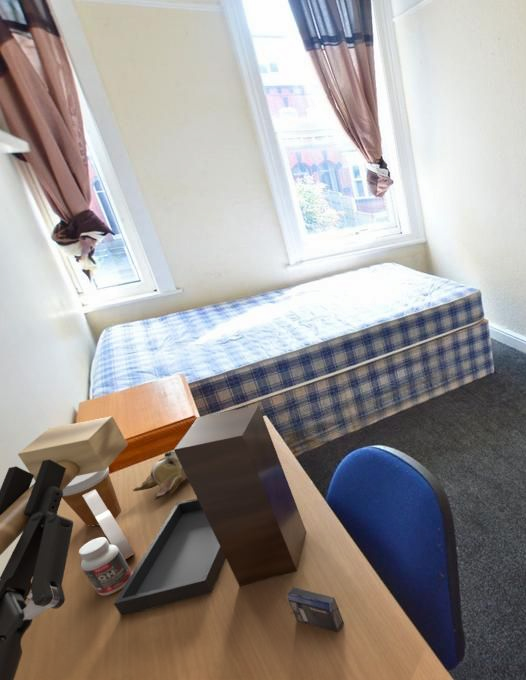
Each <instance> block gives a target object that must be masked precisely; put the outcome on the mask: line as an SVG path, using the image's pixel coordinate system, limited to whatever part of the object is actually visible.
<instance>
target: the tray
mask: <svg viewBox="0 0 526 680" xmlns="http://www.w3.org/2000/svg"><path fill="white" fill-rule="evenodd" d="M226 560H227V559H226V557H225V555H224V553H223V551H222V549H221V547H220V545H219V543H218V541H217V539H216V536H215V534H214V532H213V530H212V528H211V526H210V524H209V522H208V520H207V518H206V516H205V514H204V512H203V509H202V507H201V505H200V503H199V501H198V499H197V497H195V498H193V499H187V500H184V501H179V502H176V503H175V505H174V506H173V508H172V510H171V511H170V513H169V515H168V516H167V518H166V519H165V521H164V522H163V524H162V526H161V527H160V528H159V530H158V532H157V533H156V535H155V537H154V538H153V539H152V542H151V543H150V544H149V546H148V548H147V550H146V551H145V553H144V554H143V556H142V558H141V559H140V561H139V562H138V564H137V565H136V567H135V569H134V570H133V571H132V575H131V577H130V578H129V580H128V582H127V583H126V585H125V586H124V587H123V588H122V589H121V591H120V593H119V594H118V596H117V597H116V599H115V601H114V602H113V605H114V607H115V608H116V610H117V611H118V612H119V615H120V616H121V617H123V616H127V615H130V614H135V613H138V612H142V611H146V610H150V609H154V608H158V607H161V606H165V605H169V604H173V603H177V602H180V601H184V600H188V599H192V598H195V597H200V596H203V595H208V594H211V593H213V590H214V588H215V585H216V583H217V581H218V578H219V575H220V573H221V571H222V569H223V566H224V563H225V561H226Z"/></svg>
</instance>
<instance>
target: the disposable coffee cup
mask: <svg viewBox="0 0 526 680" xmlns="http://www.w3.org/2000/svg"><path fill="white" fill-rule="evenodd" d="M109 467H110V466H109ZM109 467H108V468H107V469H106V470H103V471H99V472H94V473H89V474H85V475H80V476H76V477H75V478H74V479H73V480H72V481H71V482H70V483H69V484H68V485H67V486H66V487H65V488H64V489H63V496H62V498H61V499H62V500H63V501H64V502H65V503H66V504H67V505H68V507H69V508H70V509H72V511H73V512H74V513H75V514H76V515H77V516H78V517H79V519H81V520H82V522H83V523H84V524H85V525H86V526H87V525H89V526H88V527H93V526H92V525H97V524H99V523H98V521H97V520H96V518H95V516H94V514H93V513H92V511H91V509H90V508H89V506H88V504H87V503H86V501H85V499H84V498H83V496H82V495H84V494H86V493H88V492H90V491H92V490H94V489H95V490H96V491H97V493H98V494H99V496H100V498H101V499H102V501H103V502H104V504H105V506H106V507H107V509H108V510H109V511H110V513H111V514H112V516H113V517H114V518H115V517H116V516H117V515H118V514H119V513H120V512H121V510H122V509H121V505H120V503H119V499H118V496H117V492H116V490H115V488H114V485H113V482H112V479H111V476H110V468H109ZM97 526H98V525H97Z"/></svg>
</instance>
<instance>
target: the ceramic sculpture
mask: <svg viewBox="0 0 526 680" xmlns="http://www.w3.org/2000/svg"><path fill="white" fill-rule="evenodd" d="M186 479H188V478H187V476H186V474H185V472H184V470H183V468H182V466H181V464H180V462H179V460H178V457H177V455H176V453H175V451H174V450H170V451H167V452H165V453H164V457H163V458H160V459H159V460H158V461H157V462H155V463H154V464H153V465H152V468H151V469H150V475H148V476H147V477H146V479H145V480H144V481H143V482H142V483H141V485H139V486H137V487H134V488H133V489H132V491H133V492H140V491H145V490H150V489H153V488H155V487H158V488H157V493H156V495H155V497H154V500H159V499H162V498H164V497H166V496H169V495H171V494H172V493H174V492H175V491H176V490H177V488H178V487H179V486H180V484H181V483H182V482H183V481H185V480H186Z"/></svg>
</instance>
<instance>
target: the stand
mask: <svg viewBox="0 0 526 680" xmlns="http://www.w3.org/2000/svg"><path fill="white" fill-rule="evenodd" d="M173 451H175V453H176V455H177V457H178V460H179V462H180V464H181V466H182V468H183V470H184V472H185V474H186V476H187V478H186V479H187V480H188V482H189V484H190V486H191V490H193V493H194V495H195V498H197V499H198V501H199V503H200V505H201V507H202V509H203V512H204V514H205V516H206V518H207V520H208V522H209V524H210V526H211V528H212V530H213V532H214V534H215V536H216V539H217V541H218V543H219V545H220V547H221V549H222V551H223V553H224V555H225V557H226V559H225V560H226V561H227V563H228V565H229V568H230V570H231V572H232V574H233V576H234V578H235V580H236V582H237V584H238V586H239V587H240V586H245V585H248V584H252V583H257V582H261V581H264V580H267V579H272V578H275V577H280V576H283V575H287V574H291V573H294V572H298V568H299V564H300V560H301V556H302V551H303V547H304V543H305V539H306V534H307V530H306V527H305V524H304V521H303V518H302V517H301V513H300V510H299V508H298V506H297V503H296V501H295V498H294V494H293V493H292V490H291V489H292V488H291V487H290V484H289V481H288V479H287V476H286V474H285V471H284V469H283V466H282V463H281V460H280V458H279V455H278V452H277V450H276V447H275V445H274V442H273V439H272V437H271V434H270V432H269V428H268V426H267V423H266V420H265V419H264V415H263V413H262V409H261V408H260V405H259V404H256V405H251V406H247V407H246V406H245V407H241V408H237V409H232V410H227V411H222V412H217V413H212V414H207V415H202V416H197V418H196V419H195V421H194V422H193V424H192V425H191V426H190V428H189V429H188V430H187V432H186V433H185V434H184V436H183V437H182V438H181V439H180V440H179V442H178V444H176V446H175V448H174V449H173Z"/></svg>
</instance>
